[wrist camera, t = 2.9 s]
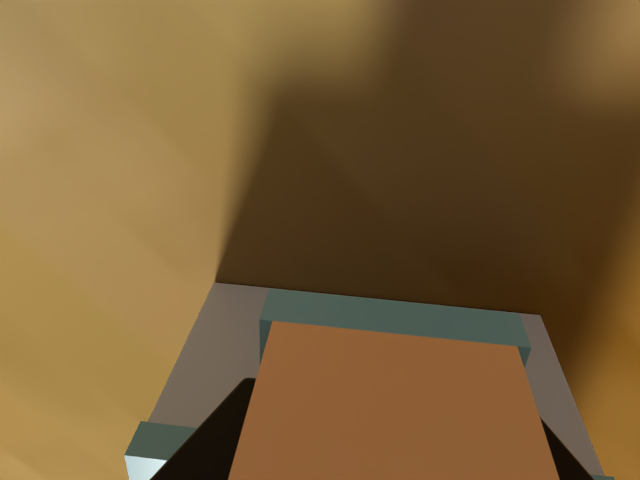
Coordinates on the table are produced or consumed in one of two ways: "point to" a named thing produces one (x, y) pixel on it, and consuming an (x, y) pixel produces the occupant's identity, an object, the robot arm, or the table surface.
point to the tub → (244, 361)
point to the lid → (379, 396)
